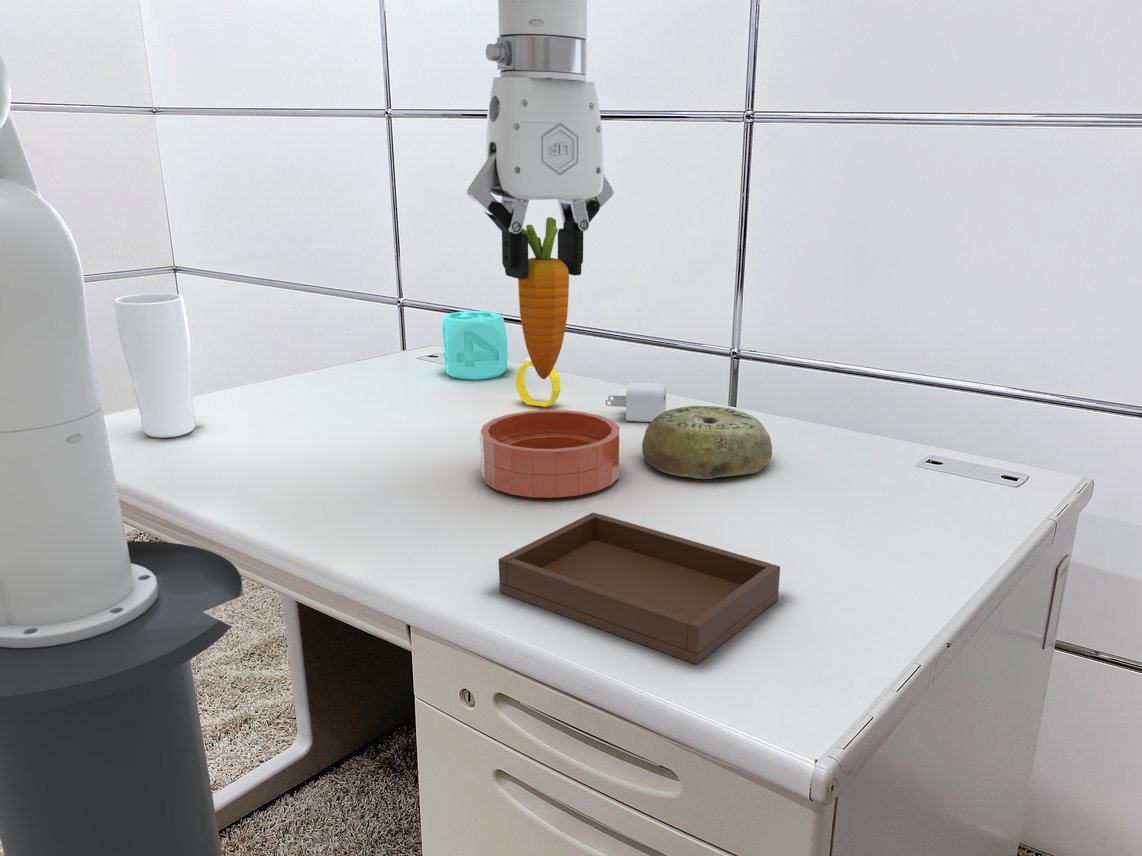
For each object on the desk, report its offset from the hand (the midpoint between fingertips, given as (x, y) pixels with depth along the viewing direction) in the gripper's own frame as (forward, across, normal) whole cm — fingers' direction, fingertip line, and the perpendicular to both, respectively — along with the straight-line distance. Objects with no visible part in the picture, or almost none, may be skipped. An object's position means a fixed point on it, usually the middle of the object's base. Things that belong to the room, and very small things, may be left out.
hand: (543, 273), depth 90 cm
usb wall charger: (+20, +20, +12) cm, 31 cm away
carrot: (+10, 0, 0) cm, 10 cm away
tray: (+20, -7, -26) cm, 34 cm away
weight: (+20, +17, -5) cm, 27 cm away
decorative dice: (+20, +14, +42) cm, 49 cm away
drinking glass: (+21, -27, +36) cm, 50 cm away
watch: (+20, +13, +23) cm, 33 cm away
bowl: (+20, +1, 0) cm, 20 cm away
